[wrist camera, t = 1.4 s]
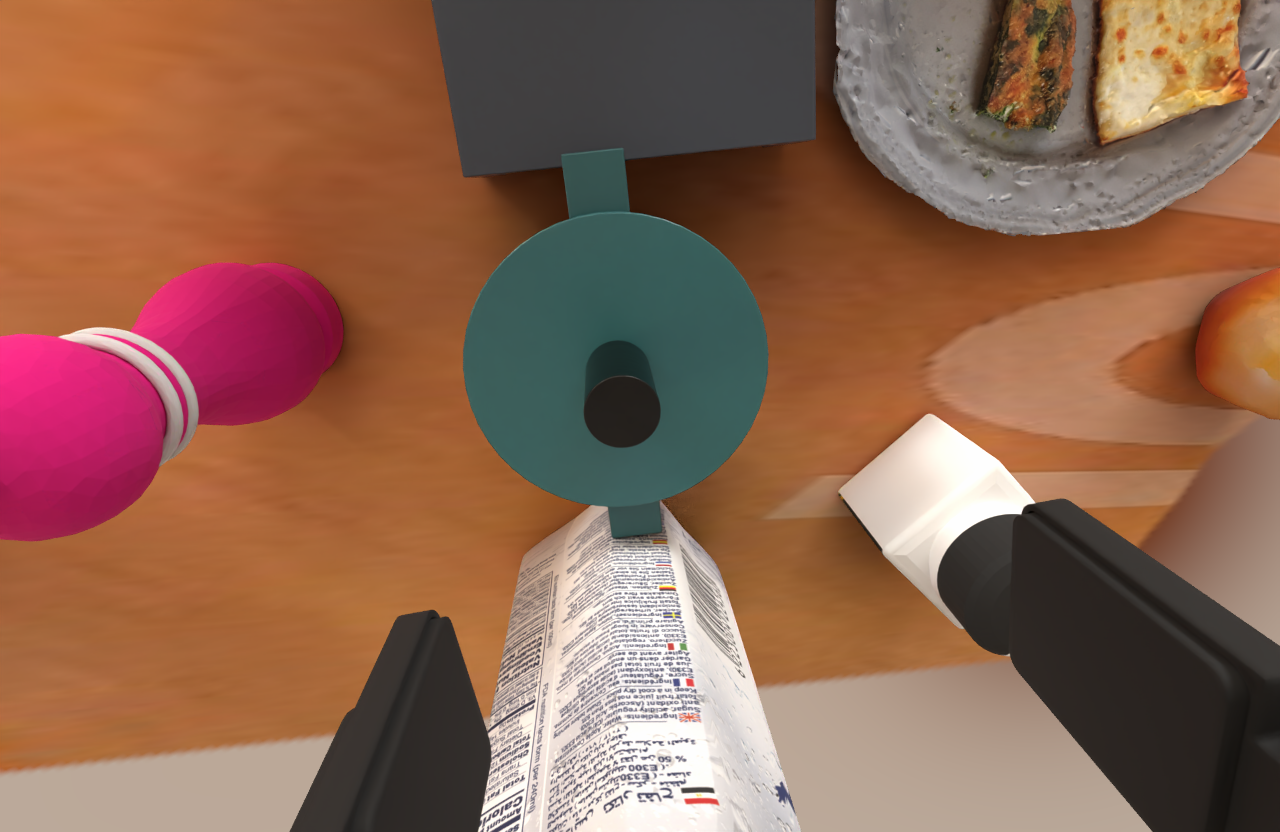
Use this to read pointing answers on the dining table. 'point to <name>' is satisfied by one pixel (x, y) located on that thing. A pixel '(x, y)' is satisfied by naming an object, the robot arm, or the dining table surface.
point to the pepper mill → (152, 389)
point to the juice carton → (628, 694)
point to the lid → (615, 359)
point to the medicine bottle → (944, 524)
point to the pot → (594, 189)
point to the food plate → (1056, 102)
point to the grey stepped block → (624, 77)
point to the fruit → (1243, 345)
